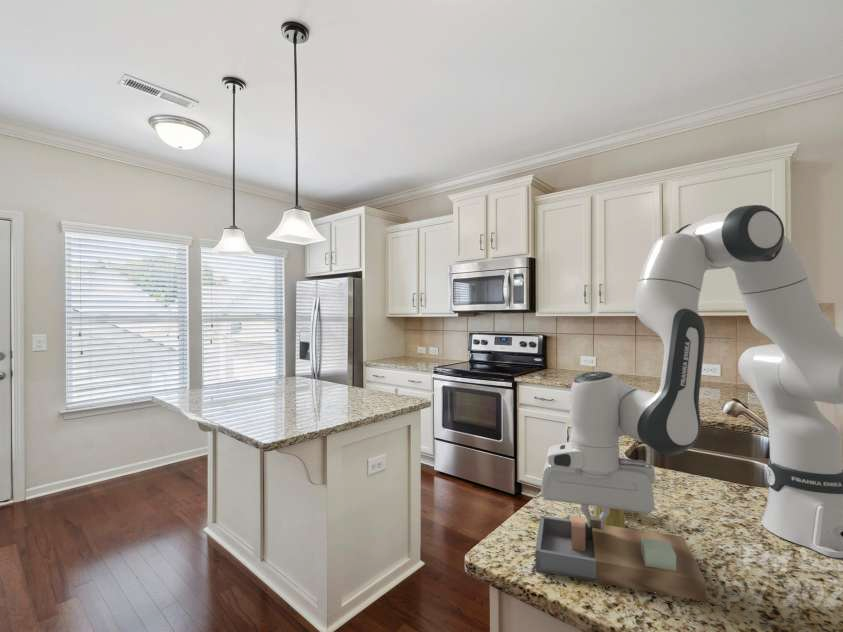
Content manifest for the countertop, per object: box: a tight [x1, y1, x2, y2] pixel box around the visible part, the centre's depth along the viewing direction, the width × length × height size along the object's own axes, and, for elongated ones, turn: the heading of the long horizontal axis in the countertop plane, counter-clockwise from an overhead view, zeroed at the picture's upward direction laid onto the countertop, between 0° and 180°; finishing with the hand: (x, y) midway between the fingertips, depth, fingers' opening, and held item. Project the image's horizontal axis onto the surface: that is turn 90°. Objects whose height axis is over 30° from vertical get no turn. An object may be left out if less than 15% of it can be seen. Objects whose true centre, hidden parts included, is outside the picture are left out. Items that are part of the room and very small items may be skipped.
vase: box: [594, 464, 626, 528], centre depth 90 cm, size 6×6×14 cm
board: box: [592, 525, 707, 603], centre depth 74 cm, size 16×14×4 cm
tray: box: [534, 515, 597, 583], centre depth 79 cm, size 10×14×4 cm
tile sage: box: [641, 538, 676, 571], centre depth 70 cm, size 4×4×2 cm
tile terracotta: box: [570, 515, 586, 552], centre depth 81 cm, size 4×4×2 cm
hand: (595, 527), depth 80 cm, fingers closed
